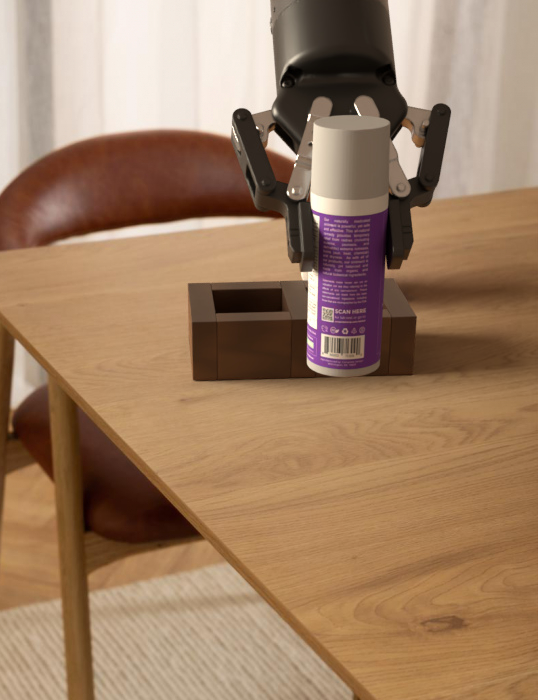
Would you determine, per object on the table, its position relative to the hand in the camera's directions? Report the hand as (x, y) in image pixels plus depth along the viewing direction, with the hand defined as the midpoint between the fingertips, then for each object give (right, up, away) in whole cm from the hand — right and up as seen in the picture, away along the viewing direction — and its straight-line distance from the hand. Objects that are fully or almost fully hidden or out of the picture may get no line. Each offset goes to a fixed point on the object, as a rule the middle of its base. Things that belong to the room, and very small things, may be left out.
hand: (352, 263), depth 71 cm
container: (0, -6, +5) cm, 8 cm away
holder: (-1, -2, +30) cm, 30 cm away
